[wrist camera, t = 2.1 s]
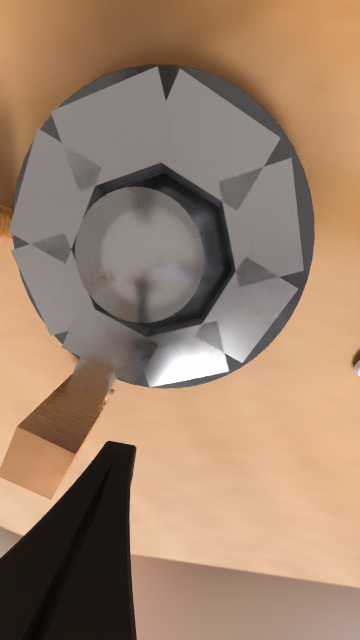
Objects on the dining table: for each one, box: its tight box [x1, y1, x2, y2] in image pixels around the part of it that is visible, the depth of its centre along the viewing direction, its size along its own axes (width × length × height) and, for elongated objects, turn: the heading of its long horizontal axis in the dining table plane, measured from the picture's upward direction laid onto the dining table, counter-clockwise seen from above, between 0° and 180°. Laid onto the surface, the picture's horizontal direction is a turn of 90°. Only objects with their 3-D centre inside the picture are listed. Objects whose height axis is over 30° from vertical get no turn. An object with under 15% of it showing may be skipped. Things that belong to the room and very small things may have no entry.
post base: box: [13, 64, 314, 388], centre depth 9 cm, size 14×14×6 cm
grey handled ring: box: [0, 66, 304, 500], centre depth 8 cm, size 16×12×4 cm
